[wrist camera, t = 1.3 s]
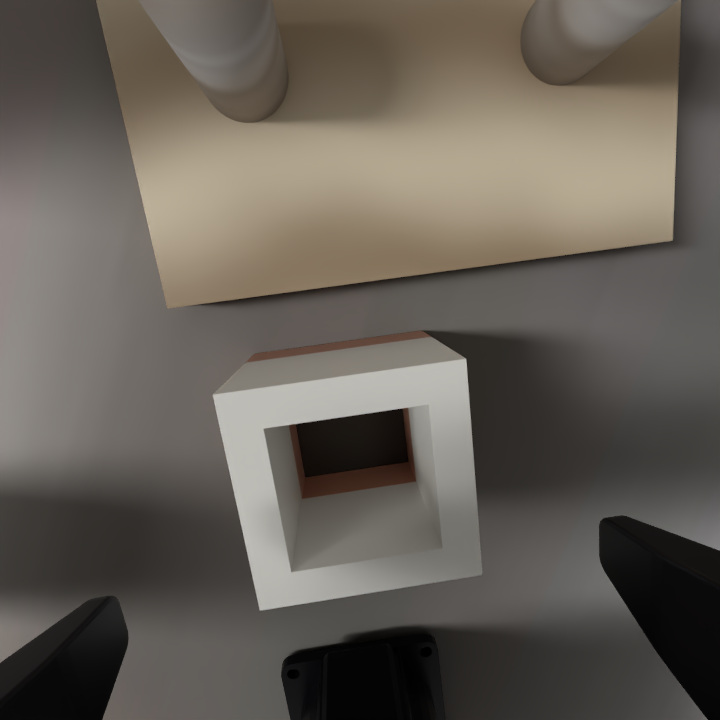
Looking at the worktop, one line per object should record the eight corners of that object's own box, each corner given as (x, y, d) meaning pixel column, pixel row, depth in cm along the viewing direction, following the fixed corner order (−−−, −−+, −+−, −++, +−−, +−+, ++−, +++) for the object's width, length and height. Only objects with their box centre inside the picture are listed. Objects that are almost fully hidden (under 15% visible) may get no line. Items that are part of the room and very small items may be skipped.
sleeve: (436, 481, 16) (482, 574, 11) (283, 504, 15) (259, 610, 11) (421, 330, 14) (466, 358, 10) (254, 353, 14) (213, 394, 9)
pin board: (637, 244, 14) (821, 225, 9) (185, 304, 14) (88, 323, 8) (645, -180, 12) (909, -568, 6) (89, -126, 11) (-139, -499, 6)
